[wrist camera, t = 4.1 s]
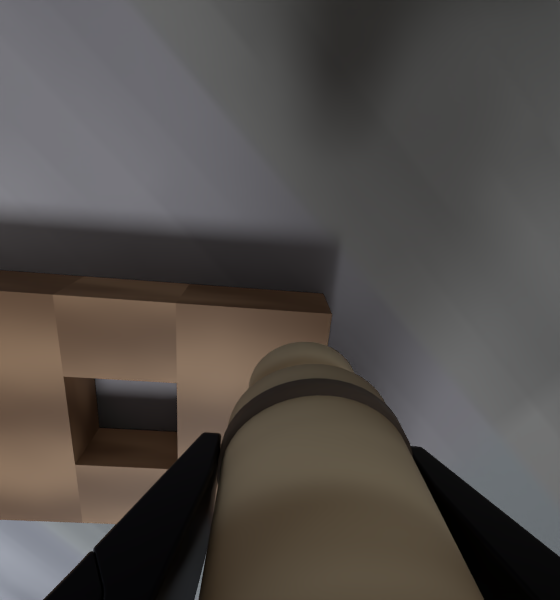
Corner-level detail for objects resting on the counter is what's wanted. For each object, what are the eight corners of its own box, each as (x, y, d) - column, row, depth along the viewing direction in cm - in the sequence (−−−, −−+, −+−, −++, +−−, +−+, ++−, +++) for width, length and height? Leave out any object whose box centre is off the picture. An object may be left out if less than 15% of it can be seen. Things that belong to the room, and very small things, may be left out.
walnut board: (297, 489, 25) (301, 530, 22) (-10, 476, 24) (-49, 517, 21) (323, 293, 20) (331, 314, 17) (-59, 266, 19) (-117, 282, 16)
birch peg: (359, 452, 12) (609, 1228, 3) (228, 443, 11) (100, 1259, 3) (385, 332, 10) (957, 1116, 2) (236, 319, 10) (45, 1152, 1)
